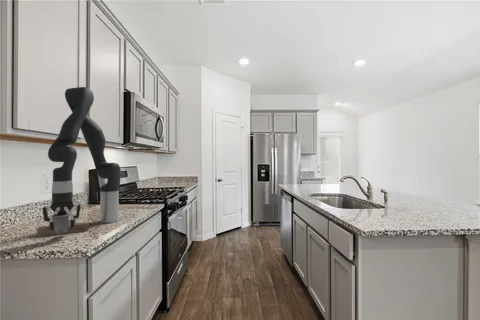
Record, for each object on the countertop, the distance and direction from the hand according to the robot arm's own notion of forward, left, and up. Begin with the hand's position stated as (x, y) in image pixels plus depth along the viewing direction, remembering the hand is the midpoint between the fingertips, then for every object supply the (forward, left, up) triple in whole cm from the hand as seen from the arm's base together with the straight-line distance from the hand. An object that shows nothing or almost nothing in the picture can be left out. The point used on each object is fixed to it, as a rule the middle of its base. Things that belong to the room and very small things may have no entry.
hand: (62, 228), depth 111 cm
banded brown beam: (-11, 0, -4) cm, 11 cm away
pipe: (-1, +1, -2) cm, 2 cm away
